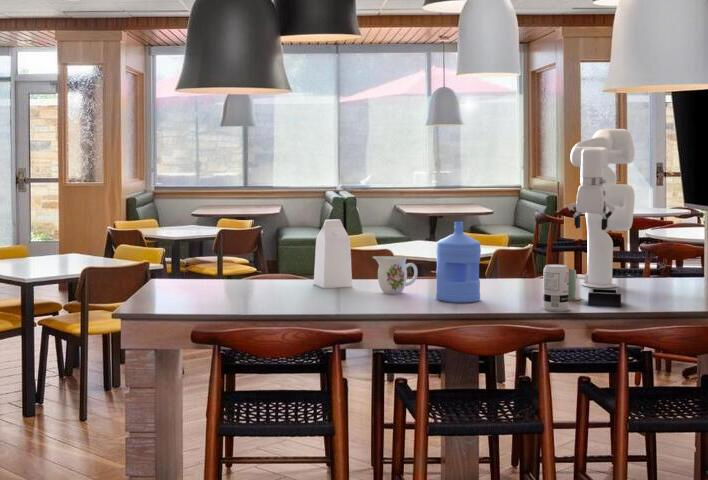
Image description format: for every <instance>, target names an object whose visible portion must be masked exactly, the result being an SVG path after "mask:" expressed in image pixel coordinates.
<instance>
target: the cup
mask: <svg viewBox="0 0 708 480" xmlns="http://www.w3.org/2000/svg"><path fill="white" fill-rule="evenodd" d="M568 270H569V287H568V299H575V297H577V296H576V294H577V292H576V291H577V289H576V288H577V270H576V269H571V268H568Z"/></svg>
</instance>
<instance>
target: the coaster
mask: <svg viewBox="0 0 708 480" xmlns="http://www.w3.org/2000/svg"><path fill="white" fill-rule="evenodd" d="M581 300H582V298H581V297H579V296H576V297H575V299H568V302H578V301H581Z"/></svg>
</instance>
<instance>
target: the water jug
mask: <svg viewBox="0 0 708 480" xmlns="http://www.w3.org/2000/svg"><path fill="white" fill-rule="evenodd" d="M453 228H454V229H453V233H452V234H449V235H448V236H446V237H444V238H441V239H439V240H438V241H437V242H436V270H435V271H436V272H435V274H436V291H435V294H436V295H435V299H437V301H440V302H445V303H450V304H451V303H453V304H469V303H476V302H479V301H480V299H481V281H480V261H481V254H482V253H481V251H482V249H481V242H480V241H479V240H476V239H474V238H473V237H471V236H469V235H467V234H465V233H464V222H463V221H454V225H453Z"/></svg>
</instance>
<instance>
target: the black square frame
mask: <svg viewBox="0 0 708 480" xmlns="http://www.w3.org/2000/svg"><path fill="white" fill-rule="evenodd" d="M587 291H588V292H587V306H588V307H604V308H622V290H621V289H614V288H594V287H588V290H587Z"/></svg>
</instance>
